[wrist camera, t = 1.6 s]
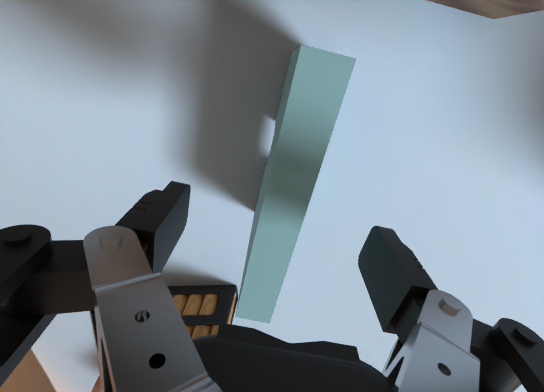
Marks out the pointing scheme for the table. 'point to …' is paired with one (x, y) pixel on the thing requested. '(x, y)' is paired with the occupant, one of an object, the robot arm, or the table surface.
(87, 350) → the table surface
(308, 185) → the teal slotted plate
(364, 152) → the table surface
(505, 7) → the walnut slotted plate
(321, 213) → the table surface
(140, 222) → the robot arm
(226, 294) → the ammunition clip
